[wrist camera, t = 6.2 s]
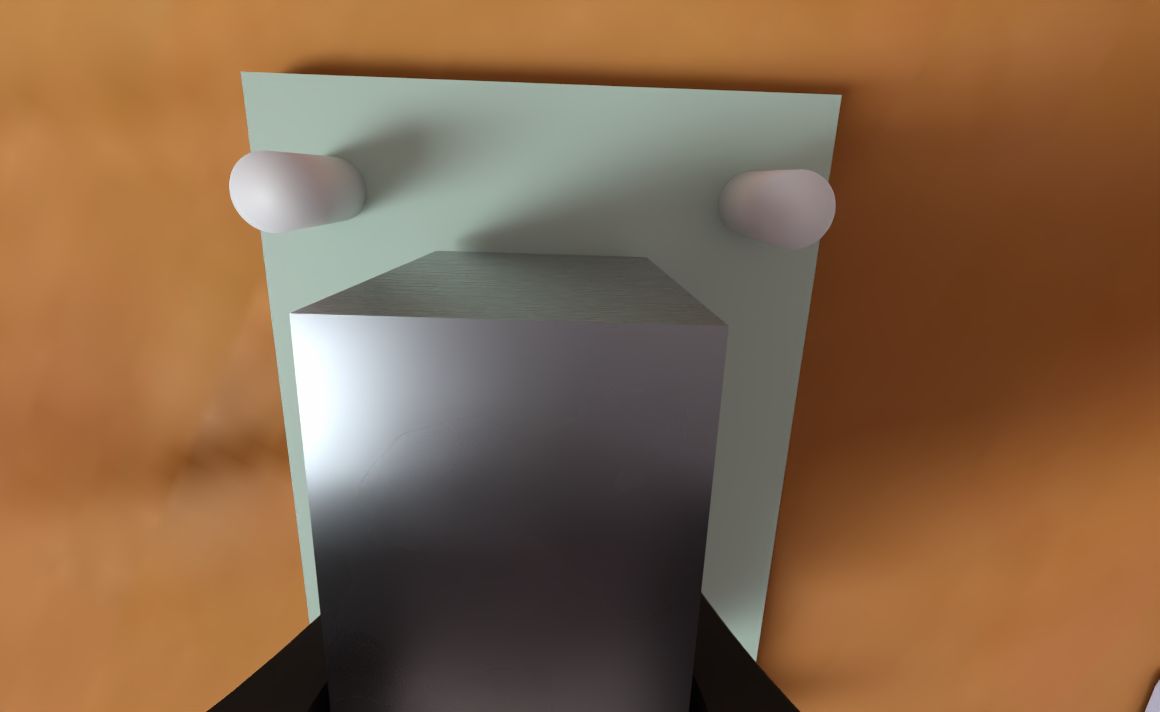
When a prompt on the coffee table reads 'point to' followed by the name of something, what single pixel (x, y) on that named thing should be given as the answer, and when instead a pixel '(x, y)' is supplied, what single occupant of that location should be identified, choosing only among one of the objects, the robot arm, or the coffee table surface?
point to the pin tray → (563, 235)
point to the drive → (510, 482)
